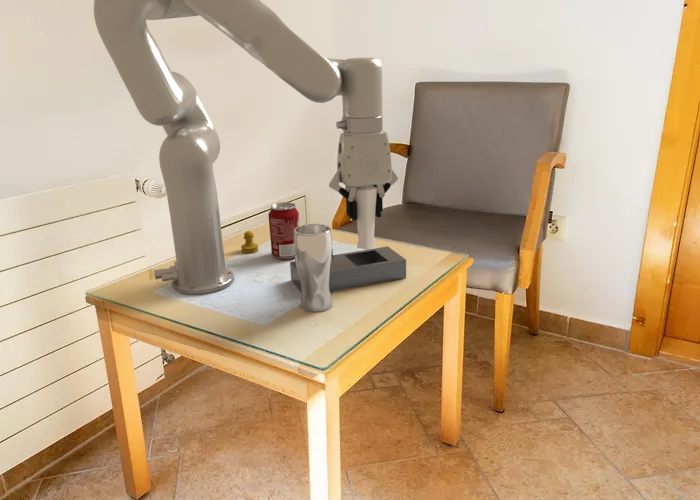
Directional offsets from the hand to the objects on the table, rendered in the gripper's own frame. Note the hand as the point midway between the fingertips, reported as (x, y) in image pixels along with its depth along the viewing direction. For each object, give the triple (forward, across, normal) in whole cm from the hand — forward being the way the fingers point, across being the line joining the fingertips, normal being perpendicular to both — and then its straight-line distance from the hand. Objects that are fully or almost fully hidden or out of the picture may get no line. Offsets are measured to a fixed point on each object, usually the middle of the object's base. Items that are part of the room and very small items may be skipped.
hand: (364, 216), depth 120 cm
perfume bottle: (+7, 0, 0) cm, 7 cm away
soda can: (+13, -12, +19) cm, 26 cm away
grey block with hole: (+13, -4, 0) cm, 14 cm away
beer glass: (+13, -14, -9) cm, 21 cm away
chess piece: (+13, -19, +26) cm, 35 cm away
